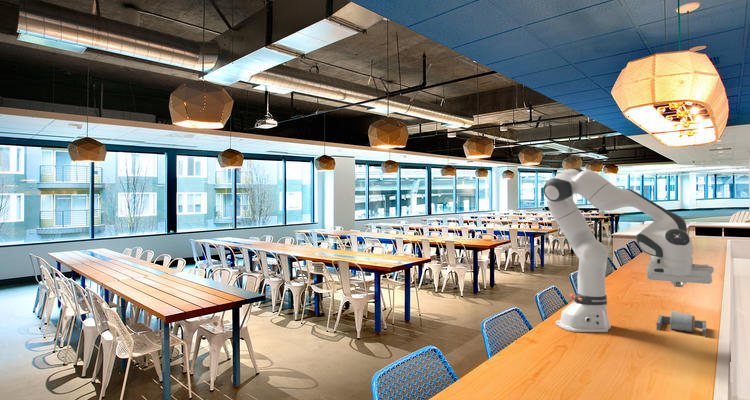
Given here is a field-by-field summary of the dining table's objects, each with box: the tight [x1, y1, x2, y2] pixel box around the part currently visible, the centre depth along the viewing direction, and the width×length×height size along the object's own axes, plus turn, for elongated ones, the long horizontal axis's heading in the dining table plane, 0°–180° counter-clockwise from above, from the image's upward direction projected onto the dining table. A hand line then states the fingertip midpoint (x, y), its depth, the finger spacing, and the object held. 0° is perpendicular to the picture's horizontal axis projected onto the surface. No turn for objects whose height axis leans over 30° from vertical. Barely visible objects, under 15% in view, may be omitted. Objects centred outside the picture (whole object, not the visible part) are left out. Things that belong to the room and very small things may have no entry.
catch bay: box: [655, 314, 707, 338], centre depth 169 cm, size 14×16×3 cm
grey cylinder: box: [669, 310, 696, 333], centre depth 169 cm, size 11×8×8 cm
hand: (678, 285), depth 156 cm, fingers closed
